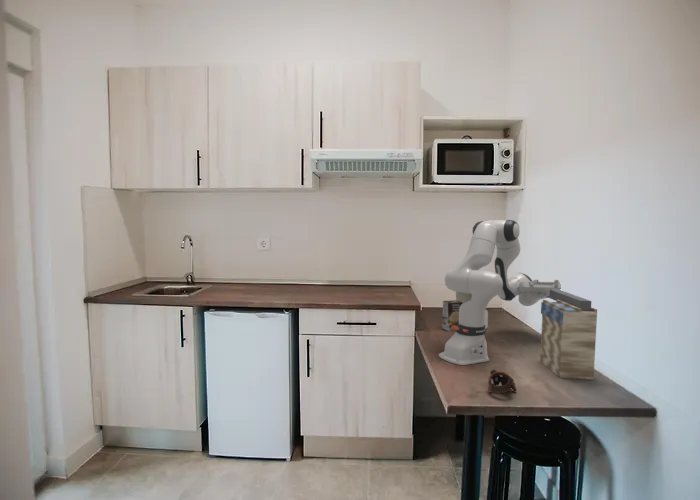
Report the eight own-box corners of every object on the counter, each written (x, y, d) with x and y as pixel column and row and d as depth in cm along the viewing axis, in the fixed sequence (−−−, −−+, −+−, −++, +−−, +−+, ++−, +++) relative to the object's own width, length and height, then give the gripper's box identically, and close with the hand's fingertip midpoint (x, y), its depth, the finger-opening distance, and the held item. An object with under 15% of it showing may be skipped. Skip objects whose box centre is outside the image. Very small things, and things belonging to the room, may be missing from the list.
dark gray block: (590, 311, 139) (591, 301, 139) (580, 311, 140) (580, 300, 139) (558, 298, 165) (558, 289, 165) (549, 298, 166) (549, 289, 165)
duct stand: (538, 360, 158) (541, 299, 156) (569, 362, 157) (572, 300, 155) (558, 377, 140) (561, 308, 138) (593, 379, 139) (597, 309, 137)
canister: (488, 317, 235) (489, 285, 234) (465, 319, 229) (466, 286, 227) (470, 311, 252) (471, 281, 251) (448, 313, 246) (449, 282, 244)
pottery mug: (524, 397, 124) (519, 380, 121) (500, 410, 124) (494, 393, 121) (503, 375, 135) (498, 359, 132) (481, 387, 135) (475, 371, 132)
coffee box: (448, 331, 202) (448, 303, 201) (441, 328, 208) (442, 300, 207) (462, 330, 205) (462, 302, 204) (455, 327, 211) (456, 299, 210)
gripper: (514, 284, 189) (523, 274, 176) (555, 285, 187) (567, 275, 174) (516, 296, 186) (525, 286, 173) (557, 297, 184) (570, 287, 171)
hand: (547, 281), depth 174 cm, fingers open, 8 cm apart
